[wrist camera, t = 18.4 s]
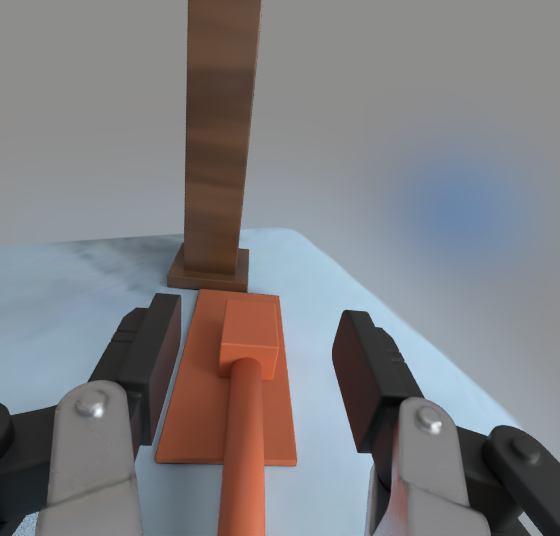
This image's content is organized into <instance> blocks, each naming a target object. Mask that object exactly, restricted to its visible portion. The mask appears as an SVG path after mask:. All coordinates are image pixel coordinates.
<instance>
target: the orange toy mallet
mask: <svg viewBox="0 0 560 536" xmlns="http://www.w3.org/2000/svg"><path fill="white" fill-rule="evenodd" d="M278 350H279V343H278V331H277V319H276V308H275V304H273V303H261V302H250V301H239V300H226V305H225V313H224V320H223V327H222V335H221V342H220V353H219V365H218V377H222V378H231V382H230V393H229V405H228V417H227V429H226V440H225V452H224V464H223V476H222V487H221V499H220V511H219V523H218V534H217V536H266V535H265V487H264V439H263V391H262V380H273V376H274V371H275V366H276V361H277V355H278Z"/></svg>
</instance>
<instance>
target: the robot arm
mask: <svg viewBox="0 0 560 536" xmlns="http://www.w3.org/2000/svg"><path fill="white" fill-rule="evenodd" d="M180 338H181V295H173V294H162V293H156V294H155V296H154V298H153V300H152V302H151V304H150V307H149V308H137V307H136V308H135V309H134V310H133V311H131V312H130V313H129V314H127V315H126V316H125V317H124V318H123V319H122V321H121V323H120V325H119V326H118V328H117V332H115V334H114V335H113V337H112V339H111V342H110V343H109V344H108V346H107V348H106V350H105V352H104V353H103V355H102V357H101V359H100V360H99V362H98V364H97V366H96V368H95V369H94V371H93V373H92V375H91V377H90V378H89V380H88V382H87V383H85V384H82V385H80V386H78V387H76V388H74V389H73V390H71V391H70V392H68V393H67V394H66V395H65V396H64V397H63V398H62V399H61V401H60V402H59V404H58V405H55V406H52V407H48V408H44V409H40V410H35V411H30V412H25V413H20V414H15V415H10V414H9V411H8V409H7V408H6V407H5V406H4V405H3V404H1V403H0V536H12V535H13V533H14V532H15V530H16V529H17V528H18V526H19V525H20V523H21V522H22V521H23V519H24V518H25V517H26V515H29V514H32V513H35V512H38V511H39V514H38V518H37V523H36V530H35V536H143V530H142V522H141V513H140V504H139V495H138V487H137V479H136V473H135V465H134V463H135V459H136V456H137V453H138V450H139V447H140V445H147V446H152V442H153V439H154V435H155V432H156V428H157V425H158V421H159V418H160V414H161V411H162V407H163V404H164V400H165V397H166V393H167V390H168V386H169V383H170V379H171V376H172V372H173V369H174V365H175V362H176V358H177V355H178V351H179V346H180ZM332 361H333V365H334V369H335V373H336V376H337V380H338V384H339V387H340V391H341V394H342V398H343V402H344V405H345V409H346V413H347V416H348V420H349V423H350V427H351V431H352V434H353V438H354V442H355V445H356V449H357V452H358V453H371V454H372V457H373V460H374V464H373V466H372V468H371V471H370V479H369V490H368V501H367V512H366V523H365V533H364V536H531V535H530V534H529V533H528V531H527V530H526V529H525V527H524V526H523V525H522V523H521V522H520V521H519V519H518V517H519V516H520V515H521V514H522V513H523V512H525V513H526V514H527V516H528V517H529V518H530V519H531V521H532V522H533V523H534V525H535V526H536V527H537V528H538V530H539V531H540V532H541V533H542V535H543V536H560V463H559V462H558V461H557V460H556V459H555V458H554V457H553V456H552V455H551V453H550V452H549V451H548V450H547V449H546V448H545V447H544V446H543V445H542V444H541V443H539V442H538V441H537V440H536V439H535V438H533V437H532V436H530V435H529V434H527V433H525V432H524V431H522V430H520V429H517V428H515V427H511V426H506V425H500V426H496V427H495V428H494V429H493V430H492V431H491V433H490V434H489V436H486V435H483V434H479V433H476V432H473V431H470V430H467V429H464V428H461V427H459V426H456V425H455V423H454V421H453V420H452V418H451V417H450V416H449V414H448V413H447V412H446V411H445V410H444V409H442V408H441V407H440V406H438V405H437V404H435V403H433V402H432V401H429V400H427V399H425V398H424V396H423V394H422V392H421V390H420V388H419V386H418V385H417V383H416V381H415V379H414V377H413V375H412V373H411V372H410V370H409V368H408V366H407V364H406V363H404V358H403V357H402V355H401V353H399V349H398V347H397V345H396V344H395V342H394V340H393V338H392V337H391V336H390V335H389V334H388V333H386V332H385V331H384V330H383V329H382V328H379V327H375V326H374V324H373V322H372V319H371V317H370V315H369V314H368V312H365V311H353V310H344V311H343V313H342V316H341V319H340V322H339V326H338V329H337V333H336V336H335V340H334V343H333V348H332Z"/></svg>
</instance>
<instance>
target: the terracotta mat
mask: <svg viewBox="0 0 560 536" xmlns="http://www.w3.org/2000/svg"><path fill="white" fill-rule="evenodd" d="M226 300H239V301H250V302H261V303H273V304H275V308H276V319H277V331H278V343H279V350H278V355H277V361H276V366H275V371H274V376H273V380H262V391H263V439H264V465H276V466H296V464H297V453H296V444H295V435H294V426H293V417H292V408H291V399H290V390H289V381H288V372H287V363H286V354H285V345H284V336H283V327H282V318H281V309H280V300H279V296H275V295H264V294H253V293H242V292H231V291H220V290H209V289H200V291H199V295H198V298H197V302H196V306H195V310H194V314H193V317H192V321H191V325H190V329H189V332H188V336H187V340H186V344H185V347H184V351H183V355H182V359H181V362H180V366H179V370H178V374H177V377H176V381H175V385H174V389H173V392H172V396H171V400H170V404H169V407H168V411H167V415H166V419H165V422H164V426H163V430H162V434H161V437H160V441H159V445H158V449H157V452H156V456H155V461H156V462H157V463H197V464H224V452H225V440H226V429H227V417H228V405H229V393H230V382H231V378H222V377H218V365H219V353H220V342H221V335H222V327H223V320H224V313H225V305H226Z"/></svg>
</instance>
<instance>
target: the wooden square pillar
mask: <svg viewBox="0 0 560 536" xmlns="http://www.w3.org/2000/svg"><path fill="white" fill-rule="evenodd" d="M262 7H263V0H188V37H187V38H188V39H187V96H186V97H187V98H186V99H187V100H186V102H187V104H186V159H185V160H186V161H185V220H184V225H185V226H184V243H182V245H181V247H180V249H179V251H178V254H177V256H176V258H175V260H174V262H173V265H172V267H171V269H170V271H169V274H168V276H167V286H168V287H176V288H187V289H198V290H200V289H209V290H220V291H231V292H242V293H247V287H248V268H249V249H240V248H238V246H239V236H240V226H241V216H242V206H243V196H244V186H245V176H246V166H247V156H248V145H249V136H250V126H251V116H252V106H253V96H254V86H255V76H256V67H257V57H258V46H259V36H260V26H261V17H262Z"/></svg>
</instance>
